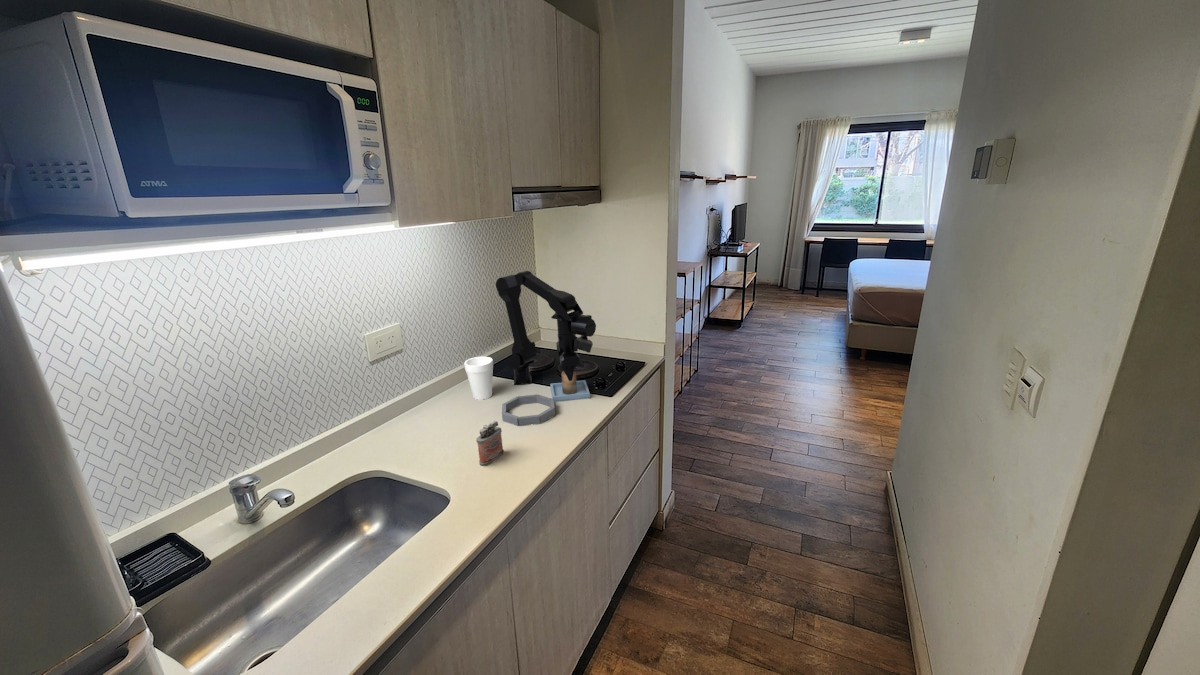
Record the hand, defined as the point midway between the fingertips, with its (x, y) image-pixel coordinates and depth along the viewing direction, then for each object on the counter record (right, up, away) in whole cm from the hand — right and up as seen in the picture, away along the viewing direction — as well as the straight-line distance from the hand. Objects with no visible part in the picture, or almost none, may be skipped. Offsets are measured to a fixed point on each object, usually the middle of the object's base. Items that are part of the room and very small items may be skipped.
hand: (569, 375), depth 167 cm
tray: (0, -6, +2) cm, 7 cm away
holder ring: (-12, -11, -11) cm, 20 cm away
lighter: (-18, -20, -36) cm, 45 cm away
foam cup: (-30, -8, +3) cm, 31 cm away
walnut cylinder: (0, -6, +2) cm, 6 cm away
